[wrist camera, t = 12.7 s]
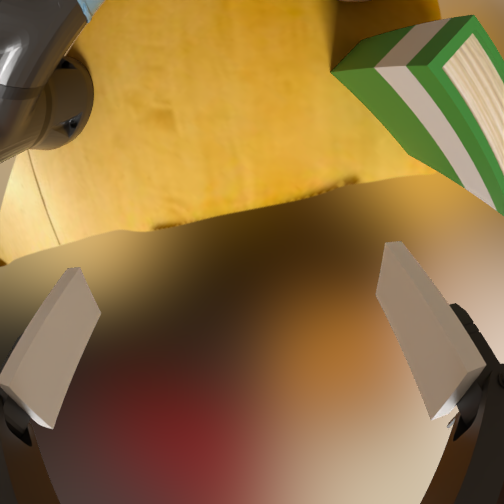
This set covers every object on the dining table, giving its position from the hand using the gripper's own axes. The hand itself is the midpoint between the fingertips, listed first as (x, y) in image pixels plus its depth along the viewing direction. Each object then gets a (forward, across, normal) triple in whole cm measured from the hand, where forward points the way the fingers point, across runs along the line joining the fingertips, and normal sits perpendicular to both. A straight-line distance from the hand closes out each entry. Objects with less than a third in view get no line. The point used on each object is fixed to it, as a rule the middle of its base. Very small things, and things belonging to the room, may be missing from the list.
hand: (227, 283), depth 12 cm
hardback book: (+32, +22, +6) cm, 39 cm away
